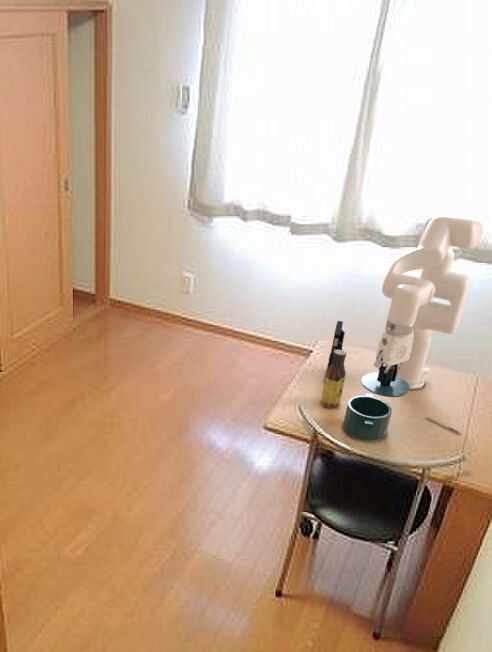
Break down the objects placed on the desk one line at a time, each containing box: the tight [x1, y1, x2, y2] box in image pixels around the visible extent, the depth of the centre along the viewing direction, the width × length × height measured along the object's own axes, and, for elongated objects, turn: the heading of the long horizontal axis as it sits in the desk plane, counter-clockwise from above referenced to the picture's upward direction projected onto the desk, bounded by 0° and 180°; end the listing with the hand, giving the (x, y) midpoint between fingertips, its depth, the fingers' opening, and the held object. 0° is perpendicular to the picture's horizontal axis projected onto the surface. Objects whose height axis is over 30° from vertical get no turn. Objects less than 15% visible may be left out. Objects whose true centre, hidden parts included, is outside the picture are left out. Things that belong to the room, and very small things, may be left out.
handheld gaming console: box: [325, 320, 346, 376], centre depth 234 cm, size 12×5×20 cm, turn 160°
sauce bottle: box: [321, 349, 347, 409], centre depth 218 cm, size 7×6×20 cm
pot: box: [342, 393, 393, 442], centre depth 208 cm, size 13×19×9 cm
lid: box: [360, 364, 411, 398], centre depth 199 cm, size 14×14×7 cm
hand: (386, 380), depth 199 cm, fingers closed on lid, 3 cm apart
